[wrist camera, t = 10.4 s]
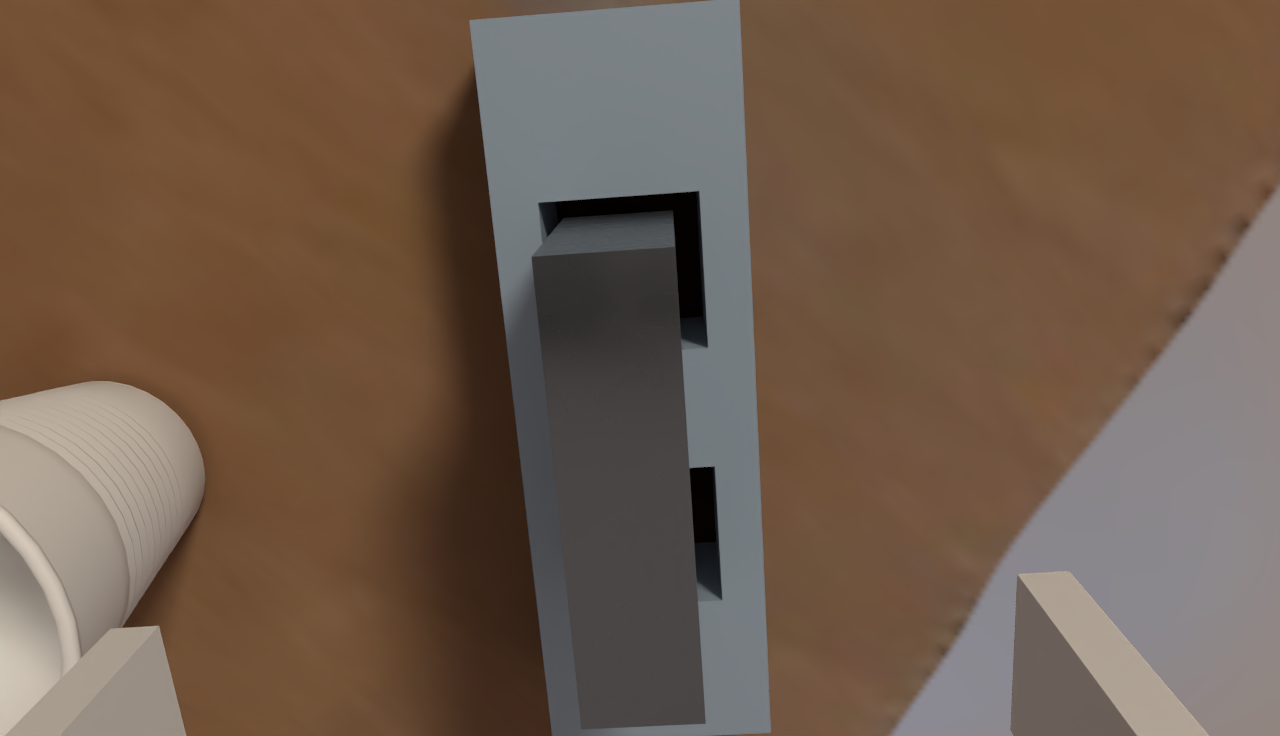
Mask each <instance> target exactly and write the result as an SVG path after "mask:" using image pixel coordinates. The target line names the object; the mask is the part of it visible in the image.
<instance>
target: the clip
mask: <svg viewBox="0 0 1280 736" xmlns="http://www.w3.org/2000/svg"><path fill="white" fill-rule="evenodd" d="M531 258H532V268H533V277H534V287H535V296H536V306H537V315H538V325H539V334H540V343H541V353H542V362H543V372H544V381H545V391H546V400H547V410H548V419H549V429H550V438H551V447H552V457H553V466H554V476H555V485H556V495H557V504H558V514H559V523H560V532H561V542H562V551H563V561H564V570H565V580H566V589H567V599H568V608H569V618H570V627H571V636H572V646H573V655H574V665H575V674H576V684H577V693H578V703H579V712H580V721H581V730H583V729H604V728H626V727H647V726H668V725H689V724H706V719H705V703H704V687H703V671H702V656H701V640H700V624H699V608H698V592H697V577H696V561H695V546H694V530H693V515H692V499H691V483H690V468H689V452H688V437H687V421H686V406H685V390H684V375H683V359H682V343H681V328H680V312H679V297H678V281H677V266H676V250H675V235H674V219H673V210H670V211H656V212H642V213H628V214H614V215H600V216H586V217H572V218H563V219H562V221H561V222H560V223H559V224H558V225H557V227H556V228H555V229H554V230H553V231H552V233H551V234H550V235H549V236H548V237H547V239H546V240H545V241H544V242H543V243H542V245H541V246H540V247H539V248H538V249H537V251H536V252H535V253H534V254H533V255H532V257H531Z"/></svg>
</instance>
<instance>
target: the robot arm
mask: <svg viewBox="0 0 1280 736" xmlns="http://www.w3.org/2000/svg"><path fill="white" fill-rule="evenodd" d="M1011 731H1012V733H1013V735H1014V736H1209V735H1208V734H1207V733H1206V731H1205V730H1204V729H1203V728H1202V727H1201V726H1200V724H1199V723H1198V722H1197V721H1196V720H1195V718H1194V717H1193V716H1192V715H1191V714H1190V713H1189V711H1187V709H1186V708H1185V707H1184V706H1183V705H1182V703H1181V702H1180V701H1179V700H1178V699H1177V697H1176V696H1175V695H1174V694H1173V693H1172V691H1171V690H1170V689H1169V688H1168V687H1167V686H1166V684H1165V683H1164V682H1163V681H1162V680H1161V679H1160V677H1159V676H1158V675H1157V674H1156V673H1155V672H1154V670H1153V669H1152V668H1151V667H1150V666H1149V664H1148V663H1147V662H1146V661H1145V660H1144V659H1143V657H1142V656H1141V655H1140V654H1139V653H1138V652H1137V650H1136V649H1135V648H1134V647H1133V646H1132V644H1131V643H1130V642H1129V641H1128V640H1127V639H1126V637H1125V636H1124V635H1123V634H1122V633H1121V632H1120V630H1119V629H1118V628H1117V627H1116V626H1115V625H1114V623H1113V622H1112V621H1111V620H1110V619H1109V617H1108V616H1107V615H1106V614H1105V613H1104V612H1103V610H1101V608H1100V607H1099V606H1098V605H1097V603H1096V602H1095V601H1094V600H1093V599H1092V598H1091V597H1090V595H1089V594H1088V593H1087V592H1086V591H1085V589H1084V588H1083V587H1082V586H1081V585H1080V583H1079V582H1078V581H1077V580H1076V579H1075V578H1074V576H1073V575H1072V574H1071V573H1070V572H1069V571H1061V572H1044V573H1028V574H1017V593H1016V616H1015V640H1014V662H1013V685H1012V708H1011ZM5 736H186V733H185V729H184V725H183V721H182V717H181V713H180V709H179V705H178V701H177V697H176V693H175V689H174V685H173V681H172V677H171V673H170V669H169V665H168V661H167V657H166V653H165V648H164V644H163V640H162V636H161V632H160V628H159V626H147V627H131V628H114V629H110V630H109V631H108V632H107V633H106V634H105V635H104V636H103V637H102V638H101V639H100V640H99V641H98V642H97V643H96V644H95V645H94V646H93V647H92V648H91V649H90V650H89V651H88V652H87V653H86V654H85V655H84V656H83V657H82V658H81V659H80V660H79V661H78V662H77V663H76V664H75V665H74V666H73V667H72V668H71V669H70V670H69V671H68V672H67V673H66V674H65V675H64V676H63V677H62V678H61V679H60V680H59V681H58V682H57V683H56V684H55V685H54V686H53V687H52V688H51V689H50V690H49V691H48V692H47V693H46V694H45V695H44V696H43V697H42V698H41V699H40V700H39V701H38V702H37V703H36V704H35V705H34V706H33V707H32V708H31V710H30V711H29V712H28V713H27V714H26V715H25V716H24V717H23V718H22V719H21V720H20V721H19V722H18V723H17V724H16V725H15V726H14V727H13V728H12V729H11V730H10V731H9V732H8V733H7V734H6V735H5Z"/></svg>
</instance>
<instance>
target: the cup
mask: <svg viewBox="0 0 1280 736" xmlns="http://www.w3.org/2000/svg"><path fill="white" fill-rule="evenodd" d="M204 485H205V472H204V464H203V459H202V456H201V453H200V450H199V447H198V444H197V442H196V440H195V439H194V437H193V435H192V433H191V431H190V430H189V428H188V427H187V426H186V424H185V423H184V422H183V421H182V420H181V418H180V417H179V416H178V415H177V414H176V413H175V412H174V411H173V410H172V409H170V408H169V407H168V406H167V405H166V404H165V403H164V402H162V401H161V400H159V399H157V398H156V397H154V396H152V395H151V394H149V393H147V392H145V391H143V390H140V389H138V388H135V387H133V386H130V385H126V384H121V383H116V382H111V381H90V382H84V383H79V384H74V385H69V386H64V387H60V388H55V389H50V390H46V391H41V392H37V393H34V394H29V395H24V396H20V397H15V398H11V399H6V400H0V736H5V735H6V734H7V733H8V732H9V731H10V730H11V729H12V728H13V727H14V726H15V725H16V724H17V723H18V722H19V721H20V720H21V719H22V718H23V717H24V716H25V715H26V714H27V713H28V712H29V711H30V710H31V708H32V707H33V706H34V705H35V704H36V703H37V702H38V701H39V700H40V699H41V698H42V697H43V696H44V695H45V694H46V693H47V692H48V691H49V690H50V689H51V688H52V687H53V686H54V685H55V684H56V683H57V682H58V681H59V680H60V679H61V678H62V677H63V676H64V675H65V674H66V673H67V672H68V671H69V670H70V669H71V668H72V667H73V666H74V665H75V664H76V663H77V662H78V661H79V660H80V659H81V658H82V657H83V656H84V655H85V654H86V653H87V652H88V651H89V650H90V649H91V648H92V647H93V646H94V645H95V644H96V643H97V642H98V641H99V640H100V639H101V638H102V637H103V636H104V635H105V634H106V633H107V632H108V631H109V630H110V629H114V628H122V627H123V625H124V624H125V622H126V620H127V619H128V618H129V616H130V615H131V613H132V611H133V610H134V608H135V607H136V605H137V604H138V602H139V600H140V599H141V598H142V596H143V595H144V593H145V591H146V590H147V588H148V587H149V585H150V584H151V582H152V580H153V579H154V578H155V576H156V575H157V573H158V571H159V570H160V569H161V567H162V565H163V564H164V562H165V561H166V559H167V558H168V556H169V554H170V553H171V552H172V551H173V549H174V548H175V546H176V544H177V543H178V541H179V540H180V538H181V537H182V535H183V534H184V532H185V531H186V529H187V528H188V526H189V525H190V523H191V521H192V520H193V518H194V516H195V515H196V513H197V511H198V510H199V507H200V504H201V501H202V498H203V495H204Z"/></svg>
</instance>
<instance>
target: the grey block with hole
mask: <svg viewBox="0 0 1280 736" xmlns="http://www.w3.org/2000/svg"><path fill="white" fill-rule="evenodd" d="M469 22H470V31H471V39H472V48H473V57H474V65H475V74H476V83H477V91H478V100H479V108H480V117H481V126H482V134H483V143H484V152H485V160H486V169H487V178H488V186H489V195H490V204H491V212H492V221H493V229H494V238H495V247H496V255H497V264H498V273H499V281H500V290H501V299H502V307H503V316H504V325H505V333H506V342H507V350H508V359H509V368H510V376H511V385H512V394H513V402H514V411H515V420H516V428H517V437H518V446H519V454H520V463H521V471H522V480H523V489H524V497H525V506H526V515H527V523H528V532H529V541H530V549H531V558H532V566H533V575H534V584H535V592H536V601H537V610H538V618H539V627H540V636H541V644H542V653H543V662H544V670H545V679H546V687H547V696H548V705H549V713H550V722H551V731H552V736H712V735H733V734H755V733H771V725H770V702H769V678H768V655H767V632H766V608H765V585H764V562H763V538H762V515H761V492H760V468H759V445H758V422H757V398H756V375H755V352H754V328H753V305H752V282H751V258H750V235H749V212H748V188H747V165H746V142H745V118H744V95H743V72H742V48H741V25H740V2H739V0H712V1H700V2H688V3H675V4H663V5H651V6H639V7H626V8H614V9H602V10H589V11H577V12H565V13H552V14H540V15H528V16H516V17H503V18H491V19H479V20H469ZM693 191H696V204H697V222H698V239H699V257H700V274H701V291H702V309H703V317H688V318H680V328H681V343H682V359H683V375H684V390H685V406H686V421H687V437H688V452H689V468H697V467H712V483H713V500H714V518H715V535H716V542H702V543H694V546H695V561H696V577H697V592H698V608H699V624H700V640H701V656H702V671H703V687H704V703H705V719H706V724H689V725H668V726H647V727H626V728H604V729H583V730H581V721H580V712H579V703H578V693H577V684H576V674H575V665H574V655H573V646H572V636H571V627H570V618H569V608H568V599H567V589H566V580H565V570H564V561H563V551H562V542H561V532H560V523H559V514H558V504H557V495H556V485H555V476H554V466H553V457H552V447H551V438H550V429H549V419H548V410H547V400H546V391H545V381H544V372H543V362H542V353H541V343H540V334H539V325H538V315H537V306H536V296H535V287H534V277H533V268H532V258H531V257H532V255H533V254H534V253H535V252H536V251H537V249H538V248H539V247H540V246H541V245H542V243H543V242H544V241H545V240H546V239H547V237H548V236H549V235H550V234H551V233H552V231H553V230H554V229H555V228H556V227H557V225H558V220H557V210H556V201H569V200H583V199H597V198H610V197H624V196H638V195H652V194H666V193H680V192H693Z"/></svg>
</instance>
